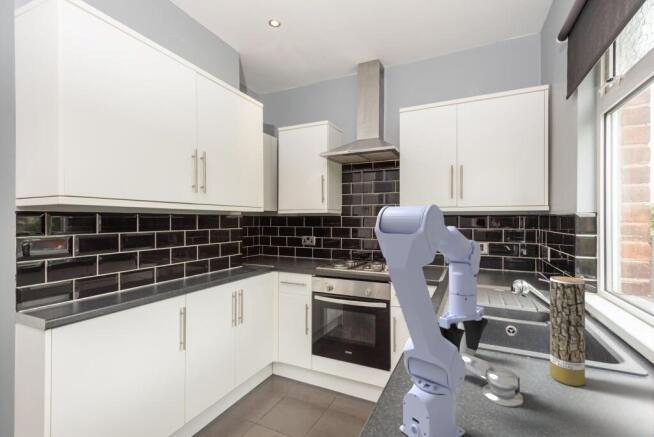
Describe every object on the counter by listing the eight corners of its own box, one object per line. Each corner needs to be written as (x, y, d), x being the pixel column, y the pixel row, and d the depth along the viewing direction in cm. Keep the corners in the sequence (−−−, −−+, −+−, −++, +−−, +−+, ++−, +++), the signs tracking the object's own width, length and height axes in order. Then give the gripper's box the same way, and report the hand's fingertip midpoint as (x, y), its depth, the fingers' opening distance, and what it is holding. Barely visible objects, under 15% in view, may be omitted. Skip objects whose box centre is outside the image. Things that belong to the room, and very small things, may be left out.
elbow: (522, 387, 69) (522, 369, 69) (509, 396, 65) (509, 377, 65) (460, 361, 81) (460, 346, 81) (446, 368, 78) (446, 352, 78)
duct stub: (512, 411, 64) (512, 394, 64) (475, 393, 71) (475, 378, 71) (531, 397, 69) (531, 381, 69) (494, 381, 76) (494, 367, 76)
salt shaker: (477, 354, 91) (477, 310, 91) (475, 362, 86) (475, 315, 86) (455, 350, 94) (455, 307, 93) (452, 357, 89) (452, 312, 89)
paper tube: (591, 389, 72) (591, 282, 72) (558, 386, 74) (558, 281, 73) (574, 374, 79) (574, 276, 79) (544, 371, 80) (544, 276, 80)
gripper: (460, 301, 62) (461, 369, 62) (497, 291, 70) (497, 351, 70) (430, 294, 68) (431, 356, 68) (467, 286, 76) (467, 341, 76)
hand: (462, 353), depth 69 cm, fingers open, 7 cm apart
